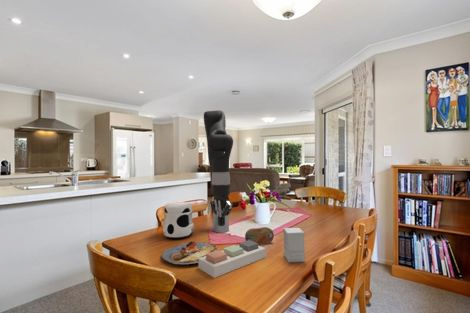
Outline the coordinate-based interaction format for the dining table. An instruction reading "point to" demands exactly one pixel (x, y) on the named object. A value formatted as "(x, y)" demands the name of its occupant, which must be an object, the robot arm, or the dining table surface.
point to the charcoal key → (248, 245)
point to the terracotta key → (216, 256)
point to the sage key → (233, 251)
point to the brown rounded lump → (260, 235)
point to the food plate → (188, 252)
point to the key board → (231, 262)
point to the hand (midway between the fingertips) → (221, 225)
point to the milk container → (178, 220)
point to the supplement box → (294, 245)
